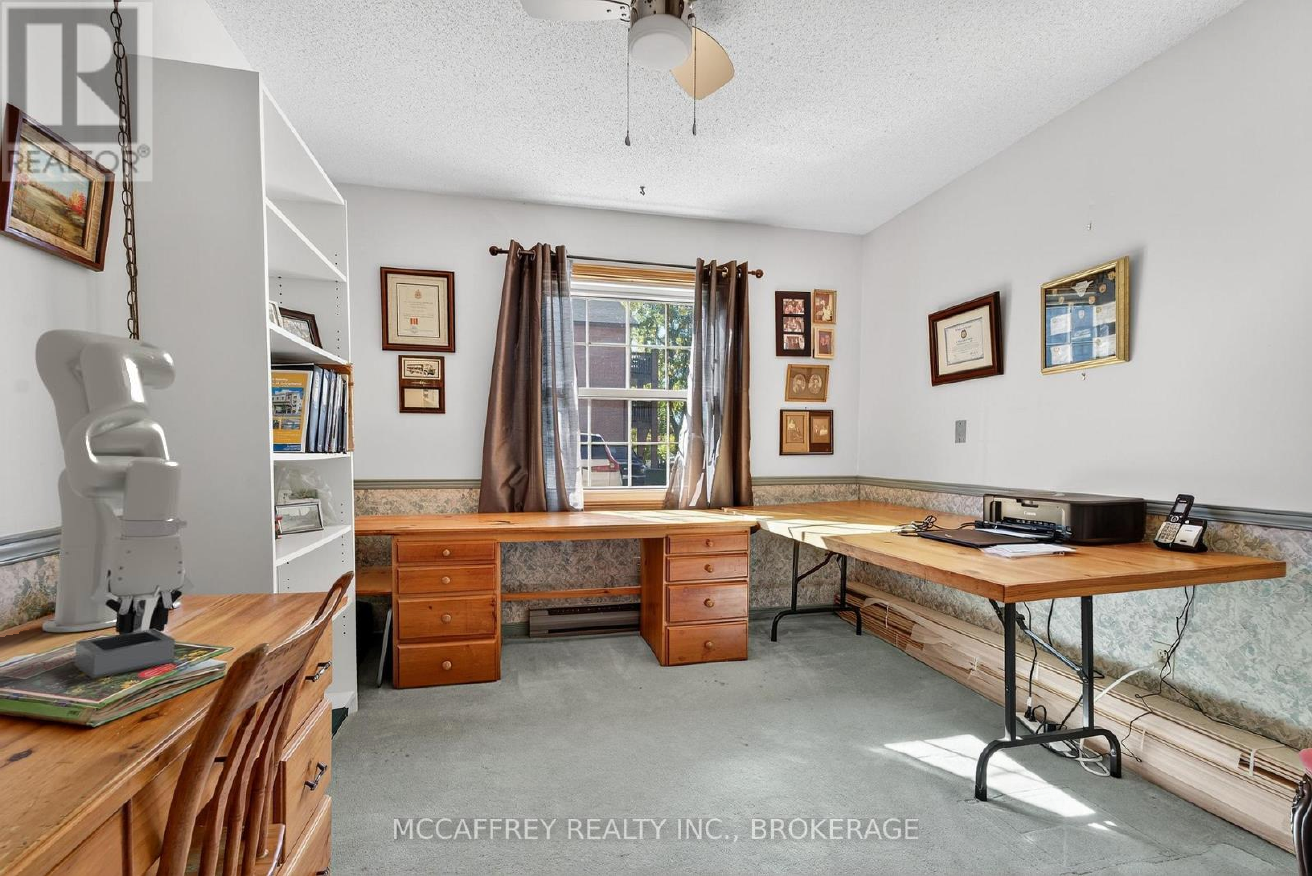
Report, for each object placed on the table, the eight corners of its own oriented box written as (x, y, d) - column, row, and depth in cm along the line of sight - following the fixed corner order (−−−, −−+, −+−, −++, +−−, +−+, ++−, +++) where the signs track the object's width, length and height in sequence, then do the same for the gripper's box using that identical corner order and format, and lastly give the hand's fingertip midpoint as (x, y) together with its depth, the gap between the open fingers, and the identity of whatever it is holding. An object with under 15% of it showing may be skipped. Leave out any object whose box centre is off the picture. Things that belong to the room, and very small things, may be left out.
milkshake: (139, 647, 101) (146, 588, 101) (114, 643, 102) (121, 585, 102) (166, 640, 105) (172, 584, 105) (142, 636, 106) (148, 581, 107)
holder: (74, 665, 92) (76, 642, 92) (151, 650, 100) (153, 628, 100) (93, 679, 87) (95, 654, 87) (173, 661, 95) (174, 639, 95)
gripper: (197, 523, 113) (190, 619, 112) (79, 530, 99) (70, 639, 98) (214, 527, 109) (206, 626, 108) (92, 535, 95) (83, 649, 94)
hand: (141, 631), depth 103 cm, fingers closed on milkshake, 4 cm apart
